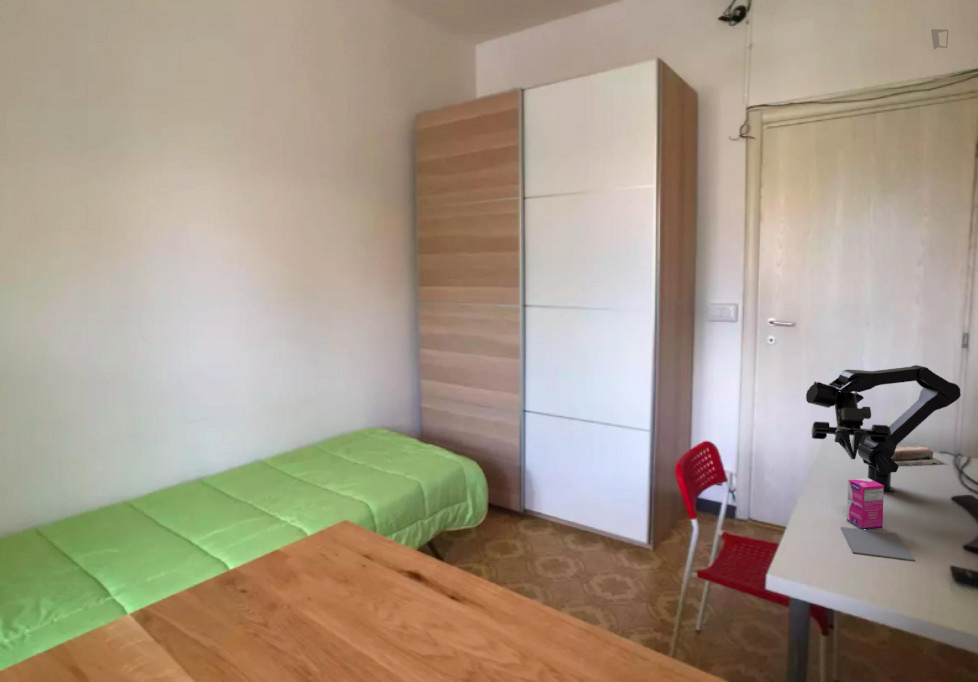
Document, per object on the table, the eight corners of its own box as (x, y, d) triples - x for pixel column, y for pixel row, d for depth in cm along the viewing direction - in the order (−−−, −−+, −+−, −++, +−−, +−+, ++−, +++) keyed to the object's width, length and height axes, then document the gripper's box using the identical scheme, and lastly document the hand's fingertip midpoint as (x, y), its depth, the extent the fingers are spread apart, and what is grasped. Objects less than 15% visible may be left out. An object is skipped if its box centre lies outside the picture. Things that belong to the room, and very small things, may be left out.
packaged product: (889, 453, 190) (868, 444, 200) (888, 467, 191) (868, 458, 201) (942, 451, 191) (919, 442, 200) (941, 465, 191) (918, 456, 201)
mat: (840, 528, 147) (840, 526, 147) (896, 534, 142) (896, 533, 142) (852, 553, 134) (852, 551, 134) (914, 560, 129) (914, 559, 129)
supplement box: (845, 520, 151) (847, 478, 149) (866, 519, 151) (868, 477, 150) (861, 530, 145) (863, 486, 144) (883, 528, 145) (885, 485, 144)
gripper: (813, 394, 166) (819, 442, 157) (890, 397, 159) (900, 447, 150) (809, 414, 174) (813, 461, 165) (882, 418, 167) (890, 466, 158)
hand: (853, 458), depth 160 cm, fingers closed
